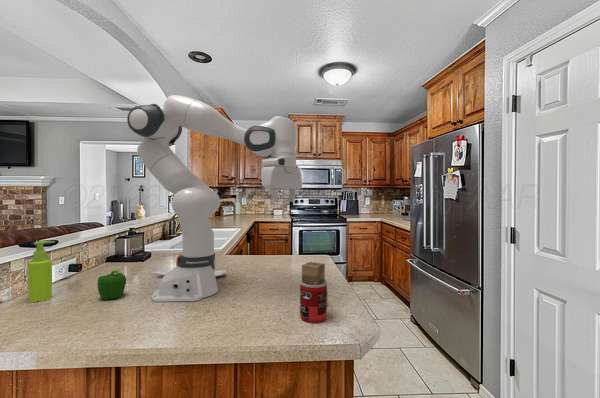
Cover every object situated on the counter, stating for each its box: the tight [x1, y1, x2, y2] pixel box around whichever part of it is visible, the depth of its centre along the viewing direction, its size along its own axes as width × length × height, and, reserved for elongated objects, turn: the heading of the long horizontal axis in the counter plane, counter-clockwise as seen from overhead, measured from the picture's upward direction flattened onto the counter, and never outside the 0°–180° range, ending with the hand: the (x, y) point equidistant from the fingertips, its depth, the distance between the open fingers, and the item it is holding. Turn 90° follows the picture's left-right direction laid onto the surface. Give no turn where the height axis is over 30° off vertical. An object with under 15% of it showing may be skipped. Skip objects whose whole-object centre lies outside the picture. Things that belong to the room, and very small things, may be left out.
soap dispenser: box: [27, 240, 56, 303], centre depth 95 cm, size 6×7×20 cm
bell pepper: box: [97, 269, 127, 301], centre depth 97 cm, size 8×8×10 cm
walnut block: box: [301, 261, 326, 285], centre depth 82 cm, size 5×5×5 cm
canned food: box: [299, 279, 328, 324], centre depth 82 cm, size 8×8×11 cm
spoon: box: [150, 266, 228, 278], centre depth 123 cm, size 9×32×4 cm, turn 88°
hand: (283, 201), depth 97 cm, fingers open, 8 cm apart
